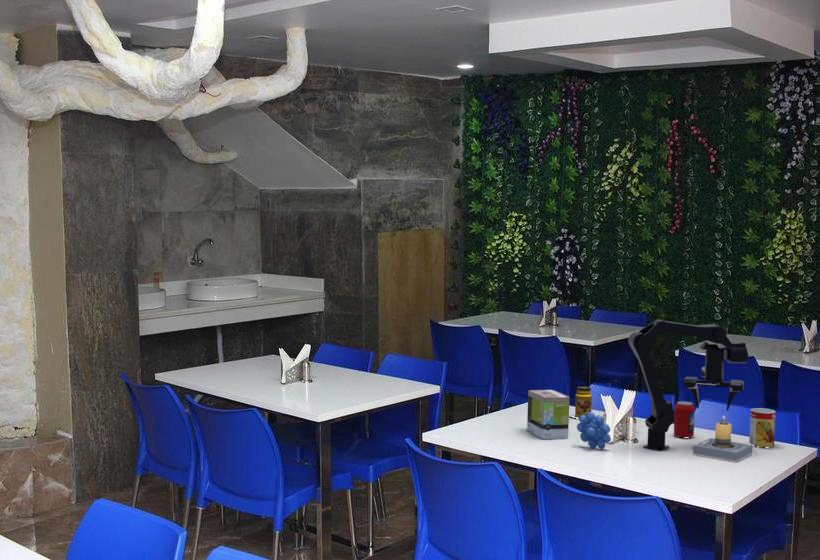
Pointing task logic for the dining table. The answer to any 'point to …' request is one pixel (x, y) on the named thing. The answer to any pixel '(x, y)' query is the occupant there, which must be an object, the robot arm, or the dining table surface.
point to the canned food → (762, 427)
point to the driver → (723, 434)
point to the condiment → (583, 401)
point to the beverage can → (684, 419)
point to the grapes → (594, 430)
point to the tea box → (548, 414)
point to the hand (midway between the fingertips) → (712, 409)
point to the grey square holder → (722, 450)
